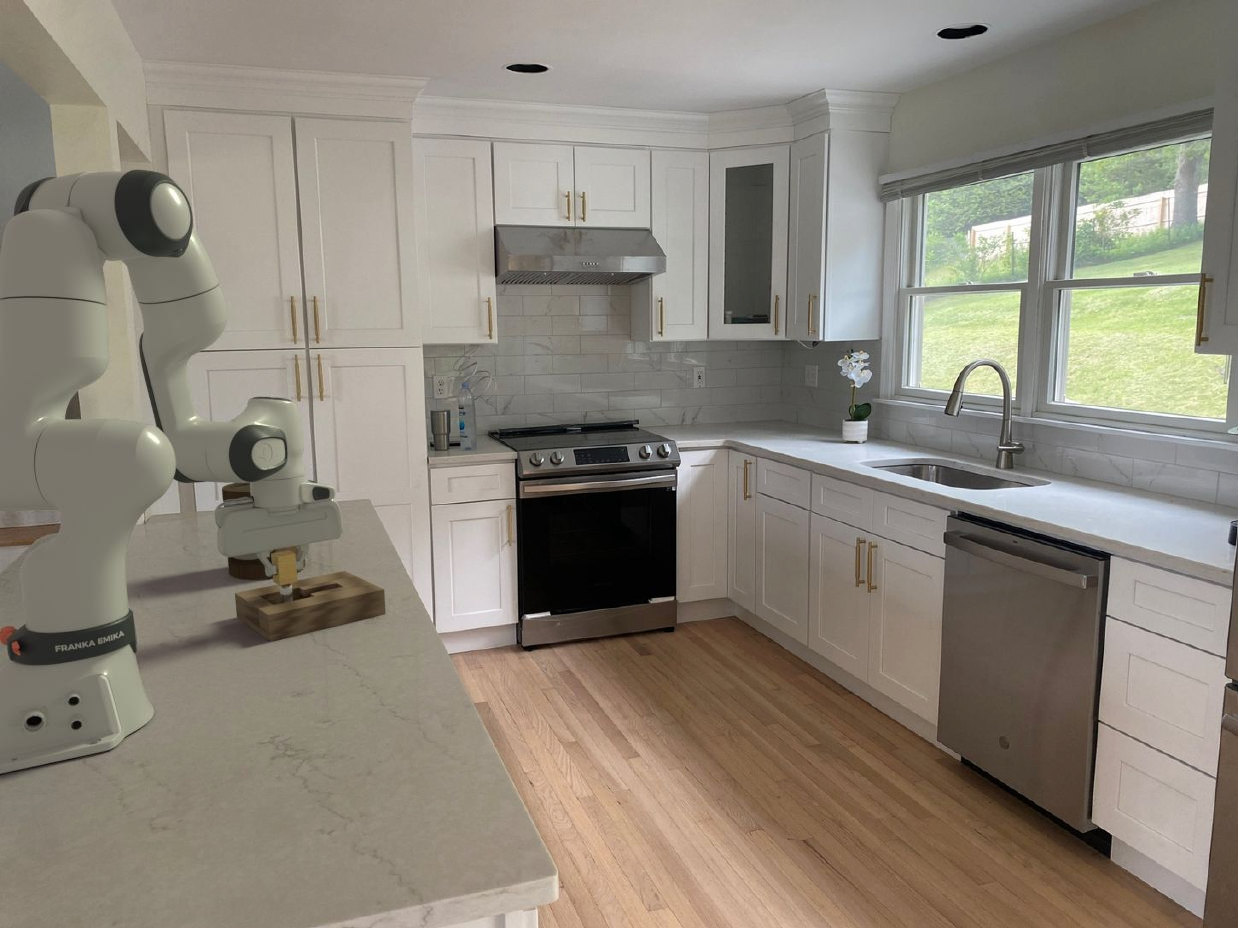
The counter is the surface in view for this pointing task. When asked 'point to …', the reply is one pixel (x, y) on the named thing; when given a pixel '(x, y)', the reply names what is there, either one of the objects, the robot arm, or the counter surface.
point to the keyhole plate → (310, 605)
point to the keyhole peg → (285, 573)
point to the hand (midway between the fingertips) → (284, 572)
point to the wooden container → (250, 563)
